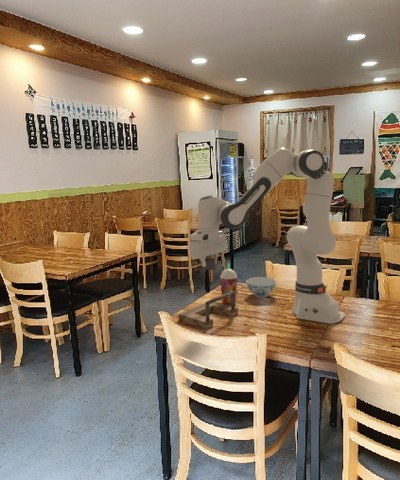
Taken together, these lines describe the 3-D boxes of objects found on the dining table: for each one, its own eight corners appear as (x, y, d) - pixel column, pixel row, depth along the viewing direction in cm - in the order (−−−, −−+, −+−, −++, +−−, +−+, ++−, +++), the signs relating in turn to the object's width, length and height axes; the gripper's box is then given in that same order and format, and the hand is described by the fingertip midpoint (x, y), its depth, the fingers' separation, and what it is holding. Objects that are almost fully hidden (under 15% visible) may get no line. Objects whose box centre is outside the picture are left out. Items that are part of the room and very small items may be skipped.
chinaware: (280, 293, 211) (280, 279, 209) (269, 302, 198) (269, 287, 197) (253, 289, 219) (253, 275, 217) (241, 297, 206) (241, 283, 205)
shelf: (237, 313, 184) (237, 290, 182) (206, 329, 168) (205, 303, 166) (211, 306, 195) (210, 283, 193) (178, 320, 179) (177, 295, 176)
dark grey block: (217, 268, 177) (217, 256, 176) (210, 271, 173) (210, 258, 172) (208, 266, 180) (208, 254, 179) (201, 269, 176) (200, 256, 175)
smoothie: (240, 301, 201) (239, 262, 197) (234, 306, 193) (233, 266, 189) (224, 299, 204) (223, 260, 200) (218, 304, 197) (217, 264, 193)
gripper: (218, 229, 183) (218, 259, 186) (187, 236, 168) (188, 268, 171) (229, 230, 179) (229, 261, 182) (198, 237, 164) (199, 271, 167)
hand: (209, 265), depth 176 cm, fingers closed on dark grey block, 5 cm apart
